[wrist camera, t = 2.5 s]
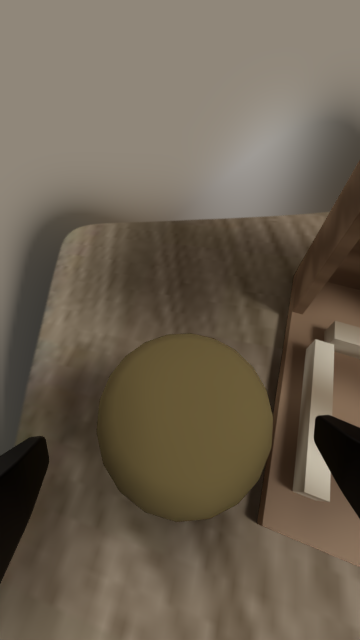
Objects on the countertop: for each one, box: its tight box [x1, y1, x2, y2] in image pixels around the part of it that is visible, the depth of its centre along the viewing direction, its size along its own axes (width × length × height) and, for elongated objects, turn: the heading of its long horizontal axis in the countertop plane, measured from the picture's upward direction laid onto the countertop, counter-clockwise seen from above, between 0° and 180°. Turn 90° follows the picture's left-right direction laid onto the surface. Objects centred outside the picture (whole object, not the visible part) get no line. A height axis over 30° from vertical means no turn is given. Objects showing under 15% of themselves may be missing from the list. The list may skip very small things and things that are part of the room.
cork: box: [97, 333, 273, 522], centre depth 11 cm, size 6×6×11 cm
